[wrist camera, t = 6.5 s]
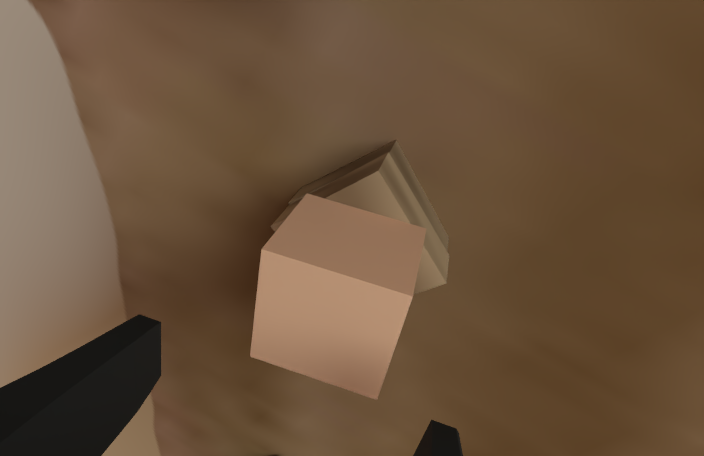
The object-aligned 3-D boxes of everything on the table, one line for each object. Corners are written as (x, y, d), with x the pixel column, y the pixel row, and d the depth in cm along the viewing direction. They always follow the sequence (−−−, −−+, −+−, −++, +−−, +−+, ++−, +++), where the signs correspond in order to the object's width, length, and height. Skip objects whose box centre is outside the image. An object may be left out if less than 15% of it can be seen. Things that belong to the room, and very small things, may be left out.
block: (395, 321, 18) (376, 400, 14) (291, 287, 18) (250, 356, 15) (426, 228, 16) (412, 296, 12) (306, 193, 16) (261, 248, 13)
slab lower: (356, 269, 22) (346, 292, 20) (303, 184, 21) (287, 202, 19) (449, 234, 20) (446, 257, 18) (397, 137, 18) (389, 153, 17)
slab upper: (350, 293, 20) (338, 321, 19) (289, 204, 19) (270, 226, 17) (449, 255, 18) (446, 283, 16) (388, 152, 17) (378, 170, 15)
